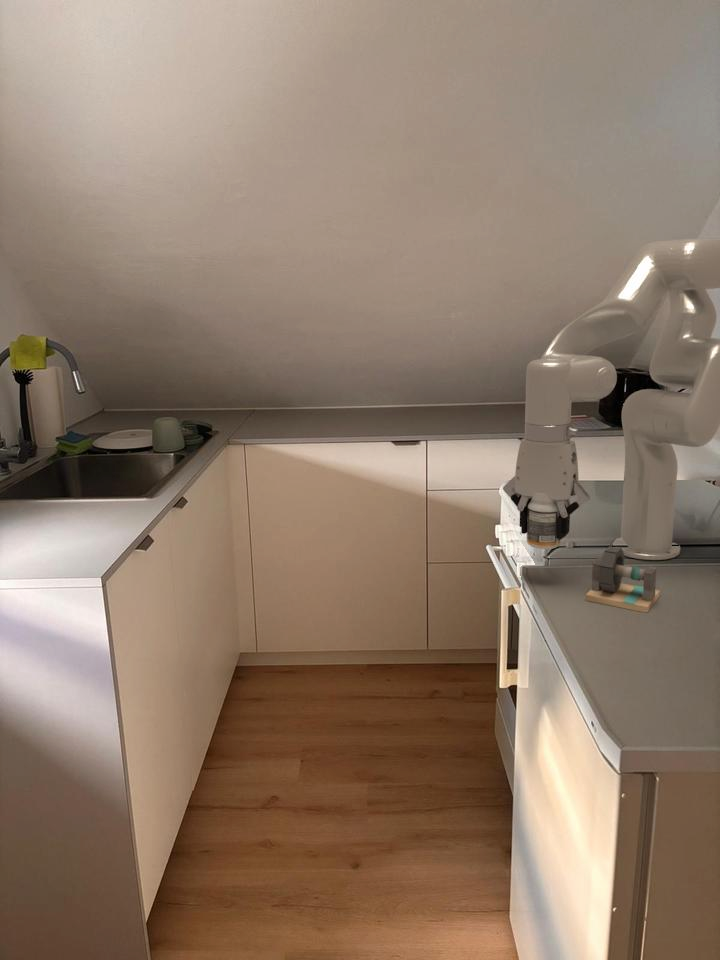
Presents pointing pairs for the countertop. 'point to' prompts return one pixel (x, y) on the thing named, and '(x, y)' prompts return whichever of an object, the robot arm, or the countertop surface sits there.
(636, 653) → the countertop surface
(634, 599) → the rail
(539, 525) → the pill bottle
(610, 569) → the octagonal nut
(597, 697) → the countertop surface
